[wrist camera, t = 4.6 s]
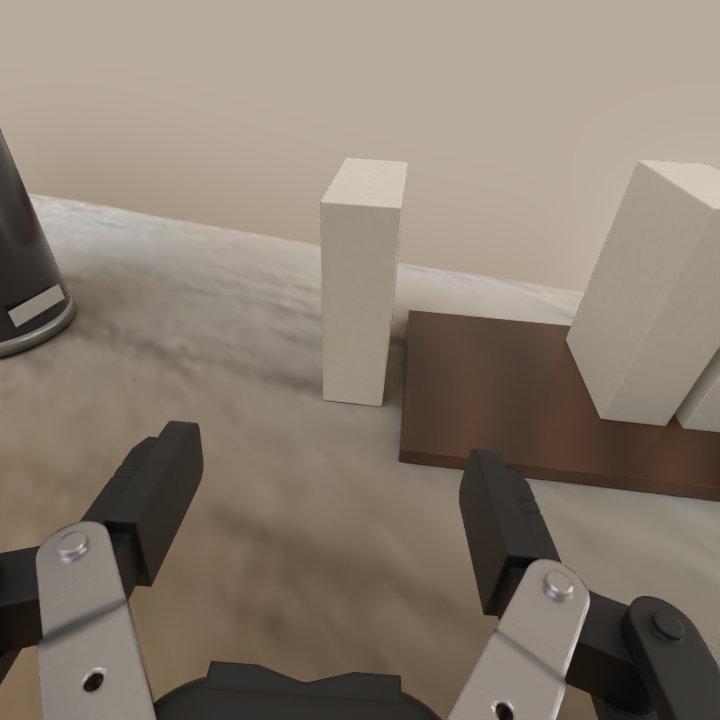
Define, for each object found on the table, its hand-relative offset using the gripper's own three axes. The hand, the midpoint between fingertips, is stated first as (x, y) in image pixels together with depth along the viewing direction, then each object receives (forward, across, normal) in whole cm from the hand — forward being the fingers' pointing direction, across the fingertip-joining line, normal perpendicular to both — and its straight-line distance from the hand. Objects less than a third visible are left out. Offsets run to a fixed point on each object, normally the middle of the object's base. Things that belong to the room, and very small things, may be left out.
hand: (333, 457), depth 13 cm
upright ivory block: (+16, -1, +6) cm, 17 cm away
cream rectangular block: (+14, -17, +4) cm, 22 cm away
